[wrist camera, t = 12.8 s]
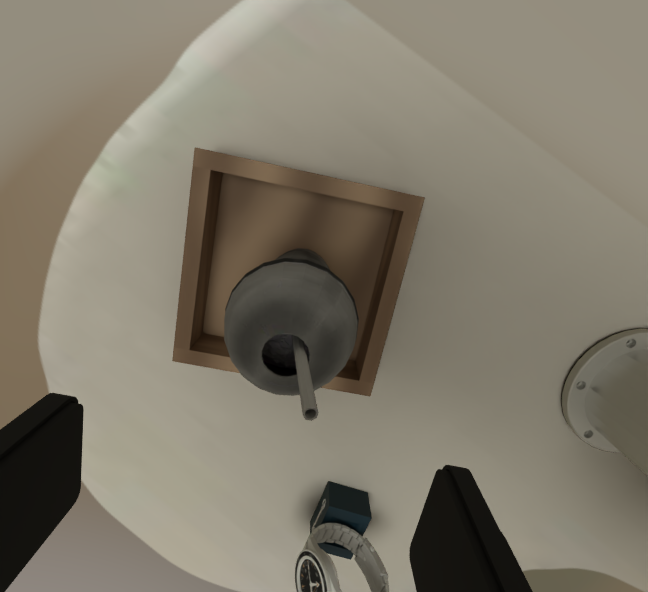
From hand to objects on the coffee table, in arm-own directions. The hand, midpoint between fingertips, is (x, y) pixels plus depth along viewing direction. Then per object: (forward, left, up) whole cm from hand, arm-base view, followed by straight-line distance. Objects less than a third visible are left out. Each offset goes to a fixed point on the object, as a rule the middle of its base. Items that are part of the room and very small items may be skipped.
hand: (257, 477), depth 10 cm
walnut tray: (0, 0, -24) cm, 24 cm away
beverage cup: (0, 0, -23) cm, 23 cm away
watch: (-9, +24, -24) cm, 35 cm away
